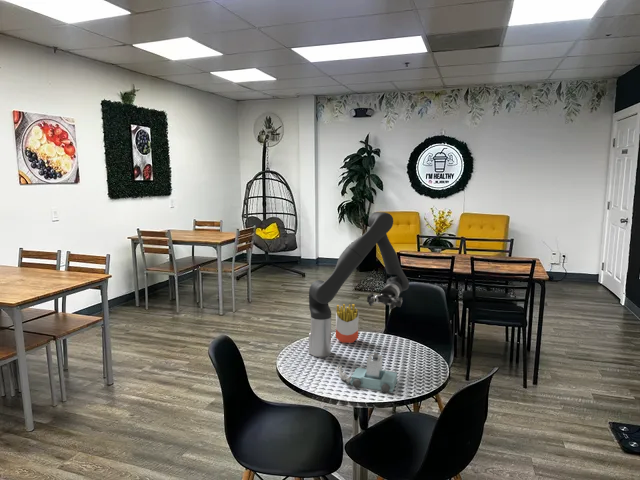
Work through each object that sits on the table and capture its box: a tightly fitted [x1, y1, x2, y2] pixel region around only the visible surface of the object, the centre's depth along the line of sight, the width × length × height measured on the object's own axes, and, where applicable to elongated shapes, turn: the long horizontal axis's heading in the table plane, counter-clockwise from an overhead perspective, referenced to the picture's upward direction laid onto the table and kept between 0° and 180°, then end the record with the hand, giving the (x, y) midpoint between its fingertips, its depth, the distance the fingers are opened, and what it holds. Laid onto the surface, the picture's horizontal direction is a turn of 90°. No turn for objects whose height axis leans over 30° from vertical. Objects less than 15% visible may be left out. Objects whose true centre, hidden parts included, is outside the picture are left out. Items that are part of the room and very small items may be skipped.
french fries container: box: [335, 303, 360, 344], centre depth 211 cm, size 5×11×18 cm, turn 88°
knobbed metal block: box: [366, 352, 383, 380], centre depth 167 cm, size 5×6×11 cm
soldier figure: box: [335, 364, 352, 384], centre depth 170 cm, size 8×5×12 cm
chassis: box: [350, 366, 398, 394], centre depth 168 cm, size 16×12×4 cm
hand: (380, 305), depth 177 cm, fingers open, 8 cm apart
